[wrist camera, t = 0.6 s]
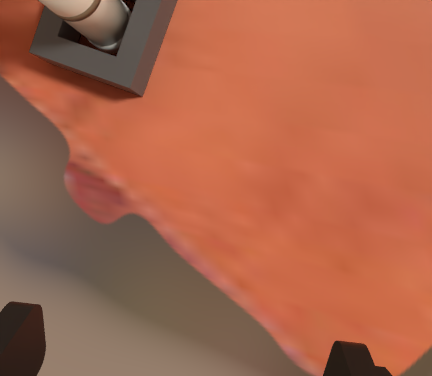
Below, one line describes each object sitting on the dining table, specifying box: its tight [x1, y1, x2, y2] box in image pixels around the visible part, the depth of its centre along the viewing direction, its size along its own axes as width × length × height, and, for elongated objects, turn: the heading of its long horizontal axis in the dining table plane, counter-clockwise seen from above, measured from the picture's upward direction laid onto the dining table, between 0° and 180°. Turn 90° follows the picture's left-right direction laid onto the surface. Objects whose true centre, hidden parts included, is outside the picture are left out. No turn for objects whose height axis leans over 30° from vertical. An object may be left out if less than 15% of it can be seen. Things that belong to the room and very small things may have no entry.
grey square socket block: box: [29, 0, 177, 97], centre depth 34 cm, size 10×10×3 cm
